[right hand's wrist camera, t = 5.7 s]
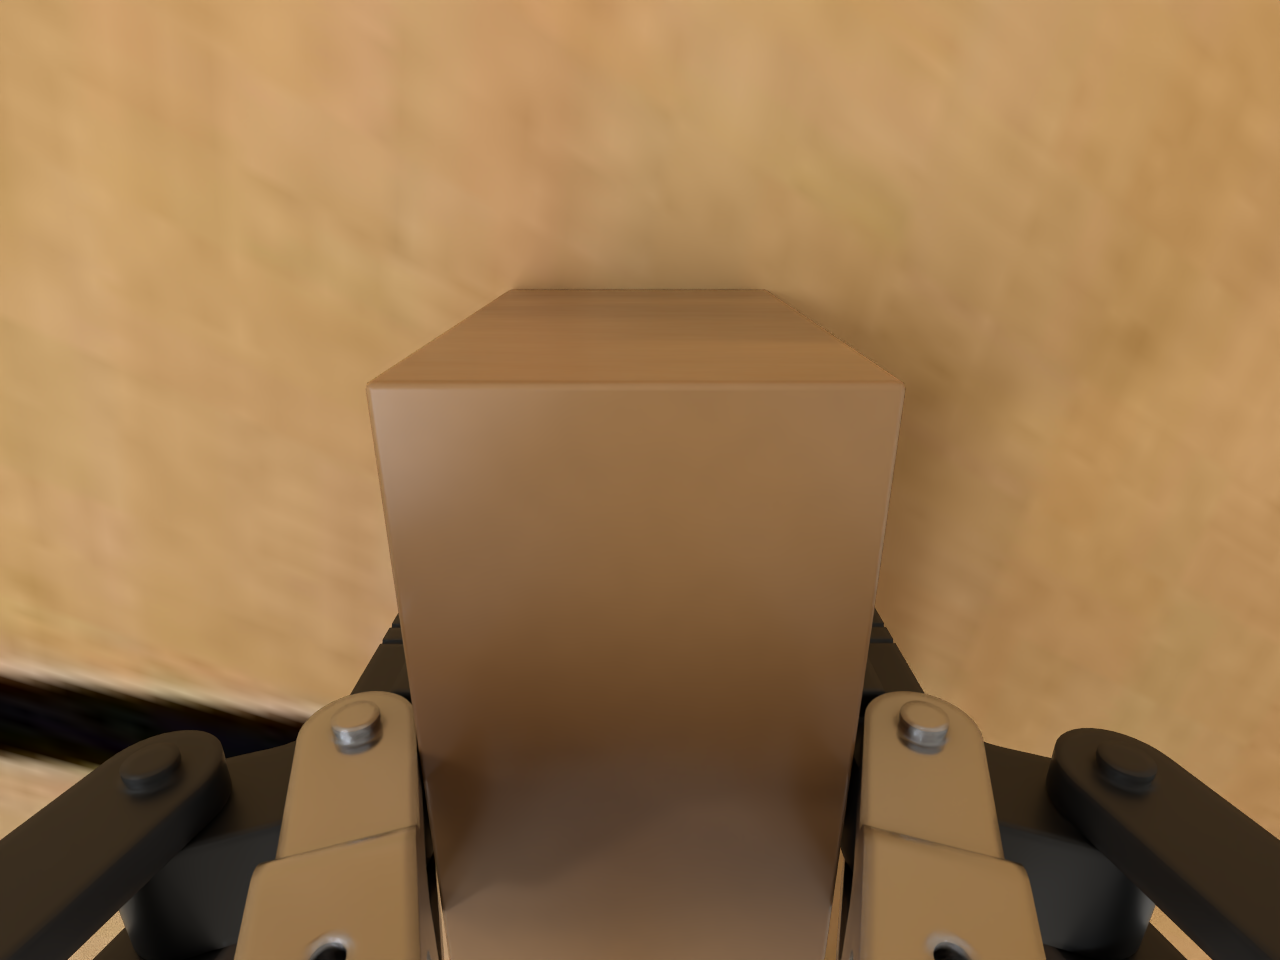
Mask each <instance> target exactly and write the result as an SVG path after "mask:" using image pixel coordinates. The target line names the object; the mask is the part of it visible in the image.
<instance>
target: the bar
mask: <svg viewBox="0 0 1280 960" xmlns="http://www.w3.org/2000/svg"><path fill="white" fill-rule="evenodd" d="M366 394H367V400H368V407H369V414H370V421H371V428H372V434H373V441H374V448H375V455H376V462H377V469H378V475H379V482H380V489H381V496H382V503H383V509H384V516H385V523H386V530H387V537H388V543H389V550H390V557H391V564H392V571H393V578H394V584H395V591H396V598H397V605H398V612H399V618H400V625H401V632H402V639H403V646H404V652H405V659H406V666H407V673H408V680H409V687H410V693H411V700H412V707H413V714H414V721H415V727H416V734H417V741H418V748H419V755H420V762H421V768H422V775H423V782H424V789H425V796H426V802H427V809H428V816H429V823H430V830H431V836H432V843H433V850H434V857H435V864H436V871H437V877H438V884H439V891H440V898H441V905H442V911H443V918H444V925H445V932H446V939H447V946H448V952H449V959H450V960H824V959H825V952H826V945H827V938H828V931H829V924H830V917H831V910H832V903H833V896H834V889H835V882H836V875H837V868H838V861H839V854H840V846H841V839H842V832H843V825H844V818H845V811H846V804H847V797H848V790H849V783H850V776H851V769H852V762H853V755H854V748H855V741H856V734H857V727H858V720H859V713H860V706H861V699H862V692H863V685H864V678H865V671H866V664H867V656H868V649H869V642H870V635H871V628H872V621H873V614H874V607H875V600H876V593H877V586H878V579H879V572H880V565H881V558H882V551H883V544H884V537H885V530H886V523H887V516H888V509H889V502H890V495H891V488H892V481H893V474H894V466H895V459H896V452H897V445H898V438H899V431H900V424H901V417H902V410H903V403H904V396H905V386H904V383H903V382H902V381H900V380H899V379H897V378H896V377H894V376H893V375H891V374H890V373H888V372H887V371H885V370H884V369H882V368H881V367H879V366H878V365H876V364H875V363H873V362H872V361H871V360H869V359H868V358H866V357H865V356H863V355H862V354H860V353H859V352H857V351H856V350H854V349H853V348H851V347H850V346H848V345H847V344H845V343H844V342H842V341H841V340H839V339H838V338H836V337H835V336H833V335H832V334H830V333H829V332H828V331H826V330H825V329H823V328H822V327H820V326H819V325H817V324H816V323H814V322H813V321H811V320H810V319H808V318H807V317H805V316H804V315H802V314H801V313H799V312H798V311H796V310H795V309H793V308H792V307H790V306H789V305H787V304H786V303H784V302H783V301H782V300H780V299H779V298H777V297H776V296H774V295H773V294H771V293H770V292H768V291H766V290H509V291H508V292H506V293H505V294H503V295H501V296H500V297H498V298H497V299H495V300H494V301H492V302H491V303H489V304H488V305H486V306H485V307H483V308H482V309H480V310H478V311H477V312H475V313H474V314H472V315H471V316H469V317H468V318H466V319H465V320H463V321H462V322H460V323H459V324H457V325H456V326H454V327H452V328H451V329H449V330H448V331H446V332H445V333H443V334H442V335H440V336H439V337H437V338H436V339H434V340H433V341H431V342H429V343H428V344H426V345H425V346H423V347H422V348H420V349H419V350H417V351H416V352H414V353H413V354H411V355H410V356H408V357H407V358H405V359H403V360H402V361H400V362H399V363H397V364H396V365H394V366H393V367H391V368H390V369H388V370H387V371H385V372H384V373H382V374H380V375H379V376H377V377H376V378H374V379H373V380H371V381H370V382H368V383H367V387H366Z"/></svg>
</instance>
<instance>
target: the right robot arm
mask: <svg viewBox="0 0 1280 960" xmlns="http://www.w3.org/2000/svg"><path fill="white" fill-rule="evenodd" d="M840 847H841V850H842V853H843V856H844V862H843V868H842V879H841V893H840V908H839V922H838V937H837V951H836V960H1187V959H1186V958H1185V957H1184V956H1183V955H1182V954H1181V953H1180V952H1179V951H1178V950H1177V949H1176V948H1175V947H1174V946H1173V945H1172V944H1171V943H1170V942H1169V941H1168V940H1167V939H1166V938H1165V937H1164V936H1163V935H1162V934H1161V933H1160V932H1159V931H1158V930H1157V929H1156V928H1155V927H1154V926H1153V925H1152V924H1151V923H1150V922H1149V921H1150V918H1151V916H1152V913H1153V911H1154V908H1155V905H1156V906H1157V907H1158V908H1159V909H1161V910H1162V911H1163V912H1164V913H1165V914H1166V915H1167V916H1168V917H1169V918H1170V919H1171V920H1172V921H1173V922H1174V923H1175V924H1176V925H1177V926H1178V927H1179V928H1180V929H1181V930H1182V931H1183V932H1184V933H1185V934H1186V935H1187V936H1188V937H1190V938H1191V939H1192V940H1193V941H1194V942H1195V943H1196V944H1197V945H1198V946H1199V947H1200V948H1201V949H1202V950H1203V951H1204V952H1205V953H1206V954H1207V955H1208V956H1209V957H1210V958H1211V959H1212V960H1280V840H1278V839H1277V838H1276V837H1274V836H1273V835H1272V834H1270V833H1269V832H1268V831H1266V830H1265V829H1264V828H1262V827H1261V826H1260V825H1258V824H1257V823H1256V822H1254V821H1253V820H1252V819H1250V818H1249V817H1248V816H1246V815H1245V814H1244V813H1242V812H1241V811H1240V810H1238V809H1237V808H1236V807H1234V806H1233V805H1232V804H1230V803H1229V802H1228V801H1226V800H1225V799H1224V798H1222V797H1221V796H1220V795H1218V794H1217V793H1216V792H1214V791H1213V790H1212V789H1210V788H1209V787H1208V786H1206V785H1205V784H1204V783H1202V782H1201V781H1200V780H1198V779H1197V778H1196V777H1194V776H1193V775H1192V774H1190V773H1189V772H1188V771H1186V770H1185V769H1184V768H1182V767H1181V766H1180V765H1178V764H1177V763H1176V762H1174V761H1173V760H1172V759H1170V758H1169V757H1167V756H1166V755H1164V754H1163V753H1162V752H1160V751H1158V750H1157V749H1155V748H1153V747H1151V746H1150V745H1148V744H1146V743H1144V742H1141V741H1139V740H1137V739H1135V738H1132V737H1129V736H1127V735H1124V734H1120V733H1117V732H1113V731H1108V730H1103V729H1095V728H1081V729H1074V730H1071V731H1068V732H1066V733H1064V734H1062V735H1061V736H1060V737H1059V738H1058V739H1057V741H1056V744H1055V747H1054V751H1053V755H1052V758H1048V757H1044V756H1039V755H1035V754H1030V753H1026V752H1021V751H1017V750H1012V749H1008V748H1003V747H999V746H996V745H992V744H989V743H986V742H984V741H983V737H982V734H981V732H980V730H979V728H978V726H977V725H976V724H975V722H974V721H973V720H972V719H971V718H970V717H969V716H968V715H967V714H966V713H964V712H963V711H962V710H960V709H959V708H957V707H956V706H954V705H952V704H950V703H949V702H946V701H944V700H942V699H940V698H937V697H934V696H931V695H927V694H925V693H924V692H923V690H922V688H921V687H920V685H919V683H918V681H917V680H916V678H915V676H914V675H913V673H912V671H911V669H910V668H909V666H908V664H907V662H906V661H905V659H904V657H903V656H902V654H901V652H900V650H899V649H898V647H897V645H896V643H893V638H892V637H891V635H890V633H889V631H888V630H887V628H886V627H884V623H883V621H882V619H881V618H880V616H879V614H878V612H877V611H876V609H875V607H874V614H873V621H872V628H871V635H870V642H869V649H868V656H867V664H866V671H865V678H864V685H863V692H862V699H861V706H860V713H859V720H858V727H857V734H856V741H855V748H854V755H853V762H852V769H851V776H850V783H849V790H848V797H847V804H846V811H845V818H844V825H843V832H842V839H841V846H840ZM118 910H119V912H120V915H121V917H122V920H123V922H124V925H125V928H124V929H123V930H122V931H121V932H120V933H119V934H118V935H117V936H116V937H115V938H114V939H113V940H112V941H111V942H110V943H109V944H108V945H107V946H106V947H105V948H104V949H103V950H102V951H101V952H100V953H99V954H98V955H97V956H96V957H95V958H94V959H93V960H444V951H443V937H442V922H441V908H440V893H439V884H438V877H437V871H436V864H435V857H434V850H433V843H432V836H431V830H430V823H429V816H428V809H427V802H426V796H425V789H424V782H423V775H422V768H421V762H420V755H419V748H418V741H417V734H416V727H415V721H414V714H413V707H412V700H411V693H410V687H409V680H408V673H407V666H406V659H405V652H404V646H403V639H402V632H401V625H400V618H399V613H398V615H397V616H396V618H395V620H394V621H393V623H392V628H389V630H388V632H387V633H386V635H385V637H384V638H383V643H382V644H380V645H379V647H378V649H377V650H376V652H375V654H374V655H373V657H372V659H371V660H370V662H369V664H368V665H367V667H366V669H365V671H364V672H363V674H362V676H361V677H360V679H359V681H358V682H357V684H356V686H355V688H354V689H353V691H352V693H351V694H350V695H349V696H346V697H343V698H340V699H338V700H336V701H334V702H331V703H330V704H328V705H326V706H324V707H323V708H321V709H320V710H318V711H317V712H316V713H314V714H313V715H312V716H311V717H310V718H309V719H308V720H307V721H306V722H305V724H304V725H303V726H302V728H301V730H300V732H299V734H298V737H297V741H294V742H292V743H289V744H286V745H283V746H279V747H275V748H272V749H267V750H263V751H258V752H254V753H249V754H245V755H240V756H236V757H231V758H227V759H225V756H224V752H223V748H222V745H221V743H220V741H219V740H218V739H217V738H216V737H215V736H213V735H212V734H209V733H206V732H203V731H196V730H183V731H174V732H169V733H165V734H161V735H157V736H154V737H151V738H148V739H146V740H143V741H140V742H138V743H136V744H134V745H132V746H130V747H128V748H126V749H124V750H122V751H121V752H119V753H117V754H116V755H114V756H113V757H111V758H110V759H108V760H107V761H106V762H104V763H103V764H102V765H100V766H99V767H98V768H96V769H95V770H94V771H92V772H91V773H90V774H88V775H87V776H86V777H84V778H83V779H82V780H80V781H79V782H78V783H76V784H75V785H74V786H72V787H71V788H70V789H68V790H67V791H66V792H64V793H63V794H62V795H60V796H59V797H58V798H56V799H55V800H54V801H52V802H51V803H50V804H48V805H47V806H46V807H44V808H43V809H41V810H40V811H39V812H37V813H36V814H35V815H33V816H32V817H31V818H29V819H28V820H27V821H25V822H24V823H23V824H21V825H20V826H19V827H17V828H16V829H15V830H13V831H12V832H11V833H9V834H8V835H7V836H5V837H4V838H3V839H1V840H0V960H68V959H69V958H70V957H71V956H72V955H73V954H74V953H75V952H76V951H77V950H78V949H79V948H80V947H81V946H82V945H83V944H84V943H85V942H86V941H87V940H88V939H89V938H90V937H91V936H92V935H94V934H95V933H96V932H97V931H98V930H99V929H100V928H101V927H102V926H103V925H104V924H105V923H106V922H107V921H108V920H109V919H110V918H111V917H112V916H113V915H114V914H115V913H116V912H117V911H118Z"/></svg>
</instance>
